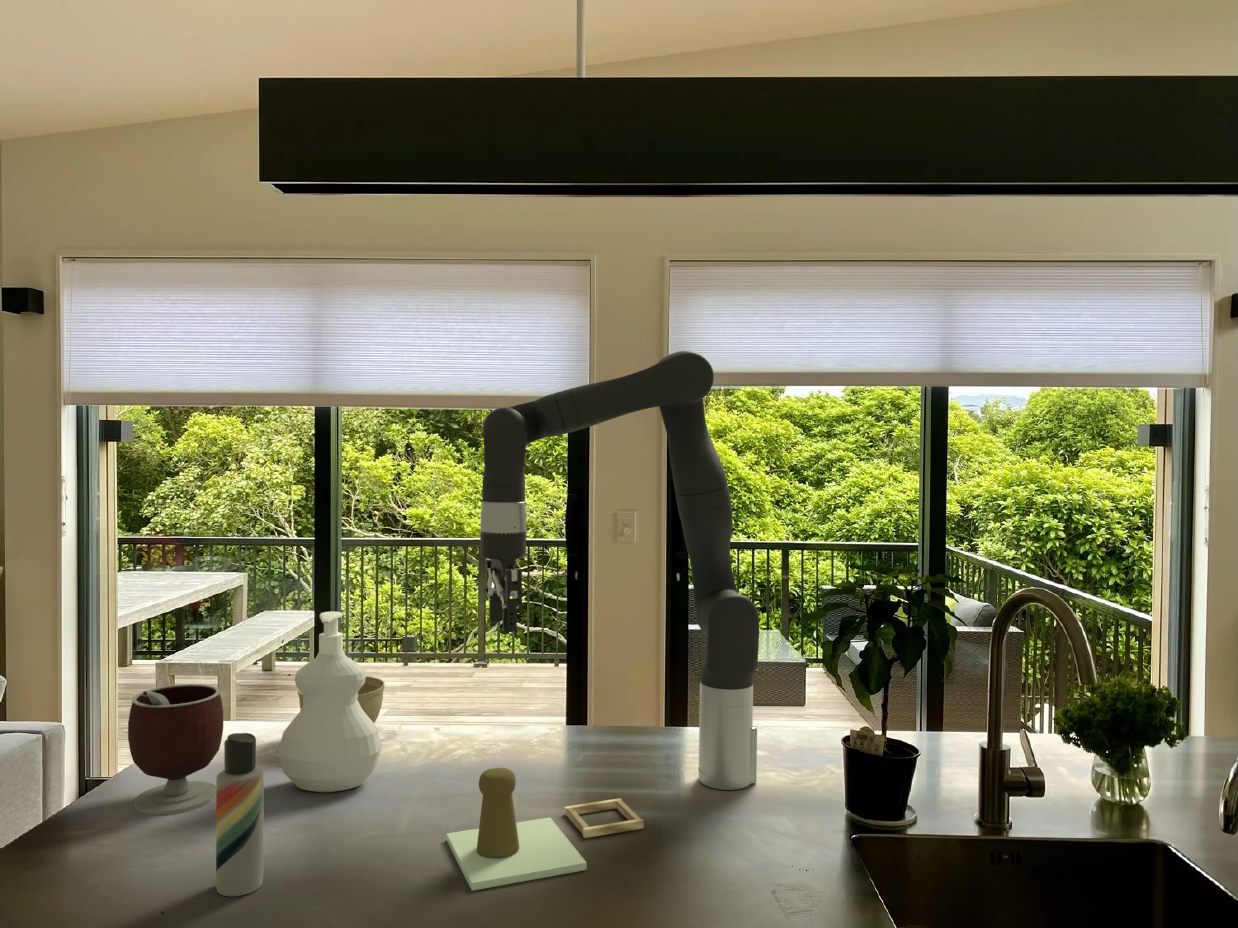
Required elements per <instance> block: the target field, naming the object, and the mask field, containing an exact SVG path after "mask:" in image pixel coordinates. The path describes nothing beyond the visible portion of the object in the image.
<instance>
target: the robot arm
mask: <svg viewBox="0 0 1238 928" xmlns="http://www.w3.org/2000/svg"><path fill="white" fill-rule="evenodd" d="M714 378H715V373H714V369H713V367H712V365H711V363H710V361H709V360H708V359H707V358H706V357H705V356H703V355H702V354H701V353H698V352H695V351H692V350H680V351H676V352H673V353H670V354H667V355H666V356H664V357H662V358H661V359H660V360H659V361H658V363H655V364H654V365H651V366H649V367H646V368H644V369H642V370H639V371H637V372H632V373H630V374H626V375H623V376H619V377H616V378H612V379H606V380H601V381H598V382H593V383H588V384H585V385H578V386H576V387H572V388H568V389H565V390H561V391H558V392H557V391H556V392H555V393H554V392H553V393H551V394H547V395H545V396H542V397H540V398H538V399H536V400H533V401H528V402H524V403H520V404H515V405H511V406H508V407H499V408H496V409H494V410H492V411H491V412H490V413H489V414H488V415H487V416H486V418H485V419H484V422H483V424H482V434H483V435H482V436H483V458H484V461H483V462H484V470H483V475H482V491H481V492H482V500H481V501H482V503H481V511H480V537H479V539H480V542H479V543H480V544H479V545H480V547H479V548H480V549H479V550H480V552H479V554H480V556H481V558H482V559H485V577H484V579H485V580H484V581H485V584H484V592H485V594H486V596H487V599H488V602H489V605H488V606H489V608H488V612H489V613H488V620H489V621H490V622H491V623H501V622H502V630H503V632H505V633H511V632H516V631H517V628H518V625H517V623H518V609H519V607H521V606H522V605H523V570H522V568H516V560H517V559H519V560H520V559H524V558H525V556H526V555H527V509H526V477H525V464H526V454H527V453H526V451H527V444H530V443H533V442H536V441H539V440H541V439H545V438H551V437H552V438H553V437H558V436H562V435H566V434H570V433H573V432H576V431H577V432H578V431H580V430H584V429H586V428H589V427H593V426H596V425H599V424H602V423H604V422H607V421H610V420H612V419H616V418H619V417H622V416H625V415H629V414H632V413H635V412H639V411H643V410H648V409H651V408H657V407H658V408H659V411H660V414H661V418H662V421H663V425H664V428H665V433H666V437H667V442H668V451H669V459H670V467H671V473H672V480H673V481H672V482H673V486H674V495H675V499H676V505H677V510H678V514H679V519H680V522H681V523H680V524H681V527H682V533H683V538H684V543H685V546H686V551H687V554H688V558H689V562H690V568H691V569H690V570H691V576H692V586H693V587H692V588H693V589H692V590H693V600H694V613H695V619H696V621H697V625H698V627H699V629H700V630H701V631H702V632H703V634H704V635H706V636H707V644H706V647H707V649H706V660H705V662H704V663H703V664H701V666H700V669H699V718H698V721H699V723H698V724H699V725H698V726H699V727H698V728H699V731H698V732H699V733H698V767H697V768H698V781H699V782H700V783H701V784H702V785H704V786H706V787H708V788H712V789H717V790H724V791H726V790H727V791H729V790H730V791H731V790H732V791H733V790H735V791H737V790H742V789H745V788H748V787H749V786H750V785H752V784H756V783H757V778H758V777H757V771H758V769H757V768H758V766H757V765H758V729H757V727H756V726H754V725H753V723H754V721H753V716H754V715H753V714H754V713H753V712H754V675H755V672H756V670H757V668H758V661H759V647H760V646H759V643H760V617H759V611H758V609H757V607H756V605H755V604H754V602H753V600H751V599H750V598H749V597H747V596H745V595H743V594H742V593H740V592H739V590H738V587H737V585H736V581H735V578H734V577H735V576H734V571H733V569H732V564H731V553H730V552H731V542H732V541H731V540H732V530H733V517H734V516H733V506H732V500H731V494H730V489H729V486H728V484H729V483H728V480H727V475H726V472H725V469H724V467H723V463H722V462H721V459H720V457H719V454H718V452H717V449H716V448H715V445H714V444H713V441H712V438H711V436H710V433H709V429H708V427H707V421H706V420H707V419H706V414H705V406H704V398H705V397H707V395H708V394H709V393H710V392H711V389H712V387H713V385H714V380H715V379H714Z"/></svg>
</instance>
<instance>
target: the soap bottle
mask: <svg viewBox="0 0 1238 928" xmlns="http://www.w3.org/2000/svg"><path fill="white" fill-rule="evenodd" d="M342 617H343V612H341V611H324V612H320V614H319V619H320V621H321V623H322V624H323V632H321V633H319V635H318V653H317V655H316V657H315V658H313V659H312V660H310V661H308V662H307V663H306V664H305V663H304V665H303V666H302V667H301V668H299V669H298V670H297V671H296V673H295V678H294V682H295V687H296V688H297V690H298V689H299V690H300V691H301V693H302V694H303V703H304V704H303V706H302V708H301V709H300V711H299V712H298V713H297V715H295V716H294V718H293V719H292V720H291V722H290V723H289V724H288V726H287V727H286V728H285V729H284V731H283V733H282V736H281V738H280V739H281V740H280V744H279V748H278V758H279V762H280V765H281V768H282V769H281V770H282V772H283V774H284V775H285V776H286V777H287V778H289V780H290V781H291V782H292V783H293V784H294V785H295V786H296V788H298V789H301V790H304V791H309V792H317V793H335V792H341V791H346V790H350V789H353V788H357V787H359V786H362V784H363V783H364V782H365V781H366V780H367V778H368V777H369V776H370V775H371V774H373V772H374V771H375V769H376V768H377V765H378V762H379V757H380V754H381V750H382V749H381V748H382V743H381V738H380V734H379V730H378V729H379V728H378V727H377V725H376V724H375V723H373V722H372V721H371V719H370V718H369V717H368V716H367V714H366V713H365V712H364V711H363V710H362V708H361V706H360V704H359V702H358V700H357V697H358V691H359V690H360V688H361V687H362V686H363V685H364V683H365V678H366V676H367V674H366V673H367V672H366V669H365V668H364V667H363V666H361V665H360V664H359V663H357V662H356V661H355V660H354V659H351V658H349V657H348V656H347V655H346V654H345V651H344V644H343V643H344V641H343V640H344V639H343V637H344V636H343V635H344V633H342V632H340V631H339V618H342Z"/></svg>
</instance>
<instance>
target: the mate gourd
mask: <svg viewBox="0 0 1238 928" xmlns="http://www.w3.org/2000/svg"><path fill="white" fill-rule="evenodd" d="M220 690H221V689H220V688H219V687H217V686H215V685H210V684H199V683H195V684H194V683H187V684H186V683H185V684H172V685H167V686H160V687H156V688H151V689H147V690H144V691H141V692H139V693H137V694H136V695H134V696H133V697H132V698H131V702H132V703H131V706H130V710H129V716H128V720H127V721H128V723H127V740H128V745H129V746H128V747H129V752H130V755H131V758H132V761H133V763H134V764H135V766H137V768H138V769H140V771H141V772H142V773H143V774H145V775H147V776H149V777H155V778H161V779H164V780H166V783H165V784H161V785H158V786H155V787H152V788H149V789H147V790H144V791H143V792H141V793H140V794H138V795H137V796H136V797H135V798H134V800H133V807H134V810H136V811H137V812H139V813H141V814H145V815H146V814H147V815H153V816H154V815H157V816H158V815H159V816H160V815H172V814H173V815H174V814H179V813H184V812H189V811H193V810H197V809H200V808H202V807H204V806H207V805H208V804H211V803H212V802H214V801H215V799H216V784H214V783H211V782H207V781H200V780H189V781H188V779H187V777H188V776H190V775H192V774H194V773H198V772H199V771H201V770H203V769H205V768H206V767H208V766H209V765H210V763H211V762H212V761H213V759H214V758H215V756H216V755H217V754H218V752H219V751H220V748H221V743H222V740H223V735H224V734H223V732H224V708H223V702H222V698H221V691H220Z"/></svg>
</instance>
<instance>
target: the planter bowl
mask: <svg viewBox="0 0 1238 928" xmlns="http://www.w3.org/2000/svg"><path fill="white" fill-rule="evenodd" d="M384 690H385V682H384V680H383V679H381V678H378V677H374V676H369V675H366V678H365V683H364V685H363V686H362V687H361V688H360V690H359V691H358V697H357V700H358V702H359V704H360V706H361V708H362V710H363V711H364V712H365V713H366V714H367V716H368V717H369V718H370V719H371V721H372V722H373V723H374V724H375V723H376V721H377V719H378V717H379V715H380V712H381V709H382V706H383V700H384ZM297 695H298V699H299V709H300V710H301V708H302V706H303V704H304V703H303V694H302V693H301V691H300V690H299V689H298V688H297Z"/></svg>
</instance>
